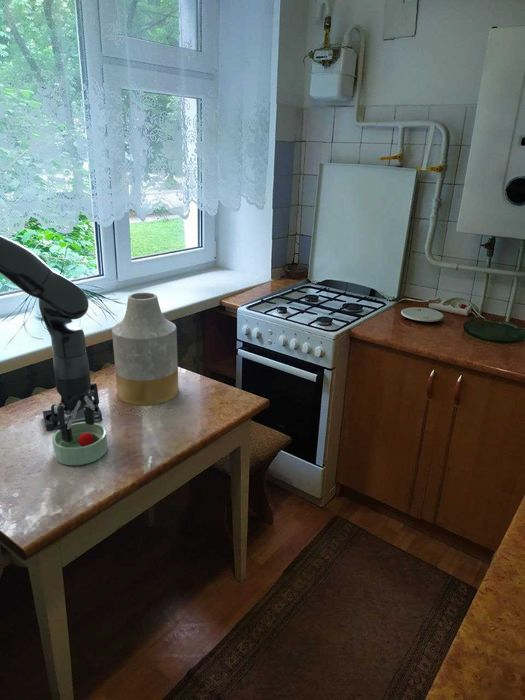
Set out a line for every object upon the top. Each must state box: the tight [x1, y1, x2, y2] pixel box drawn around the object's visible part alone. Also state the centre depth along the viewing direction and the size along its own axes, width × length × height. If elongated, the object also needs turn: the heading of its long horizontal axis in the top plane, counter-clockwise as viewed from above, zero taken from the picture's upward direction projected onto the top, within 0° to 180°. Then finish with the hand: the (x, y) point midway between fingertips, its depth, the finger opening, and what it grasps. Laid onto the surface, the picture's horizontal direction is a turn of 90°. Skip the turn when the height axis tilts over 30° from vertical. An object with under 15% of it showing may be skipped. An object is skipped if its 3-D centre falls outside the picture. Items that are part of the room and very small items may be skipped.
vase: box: [111, 292, 180, 407], centre depth 147 cm, size 18×18×30 cm
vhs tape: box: [42, 404, 103, 432], centre depth 135 cm, size 14×8×2 cm, turn 117°
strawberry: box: [79, 433, 95, 447], centre depth 122 cm, size 4×4×4 cm
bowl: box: [51, 422, 109, 466], centre depth 120 cm, size 12×12×5 cm
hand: (79, 432), depth 119 cm, fingers open, 8 cm apart
